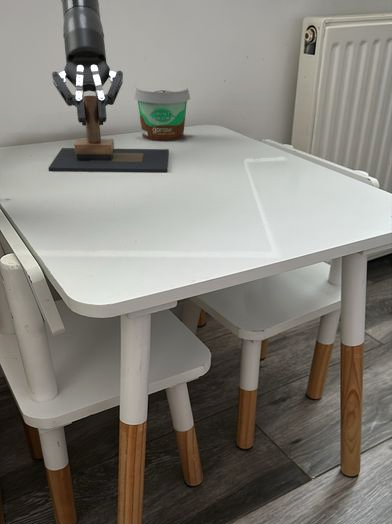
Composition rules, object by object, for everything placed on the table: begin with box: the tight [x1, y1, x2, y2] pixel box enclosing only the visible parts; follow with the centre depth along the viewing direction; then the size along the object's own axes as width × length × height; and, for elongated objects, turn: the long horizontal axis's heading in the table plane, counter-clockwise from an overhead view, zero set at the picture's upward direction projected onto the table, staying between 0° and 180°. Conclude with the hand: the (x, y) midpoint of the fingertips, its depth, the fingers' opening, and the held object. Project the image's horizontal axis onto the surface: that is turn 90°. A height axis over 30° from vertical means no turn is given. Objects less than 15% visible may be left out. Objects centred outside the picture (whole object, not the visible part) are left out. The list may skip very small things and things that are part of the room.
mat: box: [47, 147, 170, 173], centre depth 109 cm, size 22×14×1 cm, turn 91°
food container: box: [134, 87, 191, 142], centre depth 122 cm, size 12×6×10 cm, turn 104°
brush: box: [73, 95, 115, 161], centre depth 106 cm, size 7×4×11 cm, turn 91°
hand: (92, 122), depth 103 cm, fingers closed on brush, 2 cm apart
